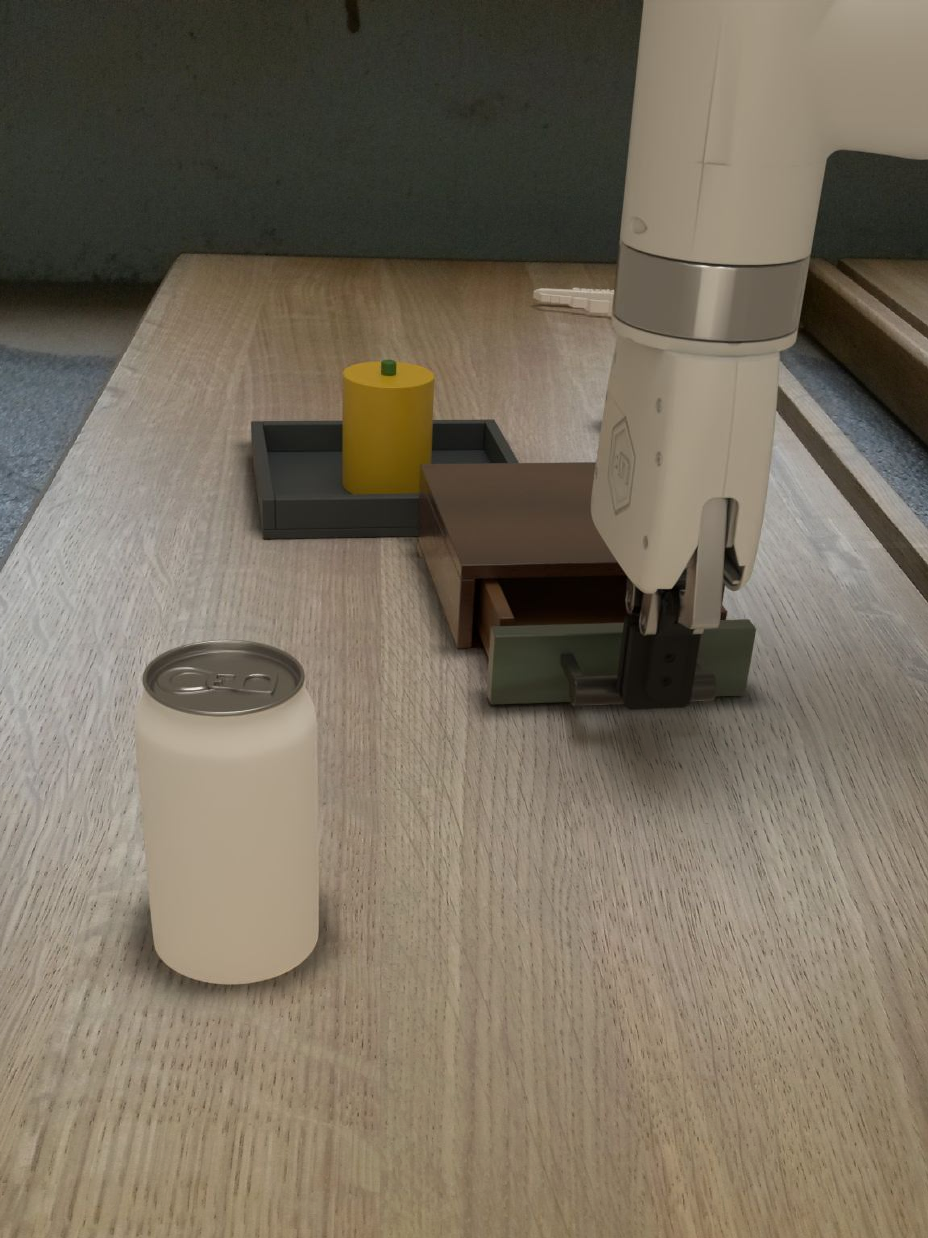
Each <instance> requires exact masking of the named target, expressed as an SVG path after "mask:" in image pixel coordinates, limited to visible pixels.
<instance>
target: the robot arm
mask: <svg viewBox="0 0 928 1238" xmlns="http://www.w3.org/2000/svg"><path fill="white" fill-rule="evenodd" d="M634 81H635V82H634V83H635V84H634V90H633V91H634V92H633V100H632V101H633V103H632V111H631V120H630V130H629V140H628V141H629V142H628V151H627V153H628V154H627V161H626V171H625V179H624V180H625V182H624V191H623V192H624V193H623V202H622V212H621V221H620V222H621V223H620V232H619V241H618V247H617V248H618V249H617V257H616V258H617V259H616V268H615V278H614V288H613V290H614V297H613V306H612V315H611V317H610V328H611V330H613V331H614V332H615V334H617V337H616V342H615V346H614V350H613V355H612V360H611V365H610V371H609V376H608V381H607V388H606V395H605V400H604V404H603V413H602V419H601V426H600V432H599V440H598V447H597V452H596V460H595V462H596V467H595V474H594V481H593V488H592V496H591V515H592V519H593V522H594V525H595V527H596V528H597V530H598V532H599V534H600V535H601V537H602V538H603V540H604V542H605V543H606V545H607V546H608V548H609V550H610V551H611V553H612V554H613V556H614V557H615V559H616V560H617V562H618V563H619V565H620V566H621V568H622V569H623V571H624V572H625V573H626V575H627V583H626V597H625V604H626V610H627V613H628V614H637V616H635V617H625V618H624V626H623V634H622V643H621V651H620V659H619V668H618V676H617V684H616V690H617V692H618V694H619V695H620V697H621V698H622V701H623V703H624V704H623V705H624V706H625V708H626V709H628V710H632V711H635V710H637V711H638V710H658V709H660V710H661V709H682V708H683V709H684V708H686V707H688V705H689V704H690V703H691V702H692V701H691V696H692V690H693V683H694V677H695V670H696V664H697V657H698V650H699V644H700V637H701V634H703V632H704V629H710V628H718V627H719V624H720V617H721V602H722V588H723V584H724V585H725V588H726V589H728V590H730V591H731V592H738V591H740V590H741V589H742V588H744V587H745V586H746V585H747V584H748V583H749V581H750V578H751V576H752V574H753V570H754V566H755V562H756V559H757V555H758V551H759V546H760V545H759V544H760V540H761V534H762V528H763V523H764V517H765V511H766V510H765V509H766V504H767V498H768V497H767V495H768V490H769V483H770V482H769V480H770V473H771V465H772V456H773V455H772V454H773V447H774V440H775V439H774V438H775V429H776V417H777V407H778V406H777V404H778V394H779V393H778V392H779V380H780V379H779V377H780V365H781V364H780V361H781V353H780V352H782V351H785V350H788V349H789V348H792V347H793V346H794V345H795V344H796V342H797V338H798V332H799V324H800V319H801V313H802V308H803V303H804V302H803V301H804V297H805V296H804V295H805V290H806V284H807V278H808V272H809V267H810V262H811V261H810V260H811V253H812V247H813V241H814V236H815V230H816V224H817V219H818V212H819V206H820V201H821V195H822V190H823V183H824V178H825V173H826V165H827V161H828V158H829V157H830V156H831V155H832V154H833V153H835V152H837V151H852V152H853V151H854V152H861V153H862V152H863V153H871V154H878V155H885V156H890V157H897V158H902V159H908V160H918V161H919V160H921V161H923V160H928V0H643V4H642V13H641V21H640V34H639V43H638V53H637V63H636V72H635V80H634ZM722 603H723V602H722Z"/></svg>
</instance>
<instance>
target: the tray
mask: <svg viewBox="0 0 928 1238" xmlns="http://www.w3.org/2000/svg"><path fill="white" fill-rule="evenodd" d="M250 435H251V460H252V466H253V474H254V481H255V487H256V496H257V504H258V511H259V517H260V524H261V525H260V526H261V532H262V533H261V534H262V538H263V539H264V540H276V539H277V540H279V539H280V540H281V539H282V540H283V539H330V538H331V539H332V538H334V539H335V538H339V539H341V538H378V537H379V538H386V537H391V538H392V537H393V538H394V537H418V512H419V493H408V494H352V493H350V492H348V491H347V490H346V489H345V488H344V487H343V484H342V458H343V420H263V421H262V420H252V421H250ZM483 463H520V462H519V460H518V458H517V456H516V455H515V453H514V451H513V449H512V448H511V447H510V445H509V442H508V441H507V439H506V438H505V436H504V434H503V433H502V431H501V429H500V427H499V425H498V424H497V422H496V420H495V419H494V418H493V419H491V418H490V419H489V418H488V419H433V428H432V454H431V464H483Z"/></svg>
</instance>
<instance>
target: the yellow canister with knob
mask: <svg viewBox="0 0 928 1238" xmlns="http://www.w3.org/2000/svg"><path fill="white" fill-rule="evenodd" d="M434 396H435V374H434V373H433V371H432V370H430V369H428V368H426V367H424V366H421V365H418V364H414V363H408V362H401V361H396V360H393V359H383V360H379V361H378V360H377V361H365V362H360V363H356V364H352V365H350V366H347V367H345V369H343V371H342V421H343V458H342V484H343V487H344V488H345V489H346V490H347V491H348V492H350V493H352V494H408V493H419V482H420V464H431V454H432V428H433V420H434Z"/></svg>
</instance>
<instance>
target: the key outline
mask: <svg viewBox="0 0 928 1238" xmlns="http://www.w3.org/2000/svg"><path fill="white" fill-rule="evenodd" d="M532 292H533V293H532V298H533V299H534V300H537V301H538V302H545V303H547V302H548V303H553V304H554V303H555V304H556V303H557V304H563V305H567V307H568V306H569V307H571V308H575V309H577V308H578V309H583V310H584V311H586V312H588V313H599V314H604V315H605V316H608V317H610V318H611V315H612V306H613V297H614V289H611V290H610V289H609V288H606V289H604V288H603V289H599V288H595V289H594V288H580V287H572V289H566V288H565V289H563V288H546V287H545V288H544V287H543V288H542V287H541V288H538V289H535V290H533V291H532Z"/></svg>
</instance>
